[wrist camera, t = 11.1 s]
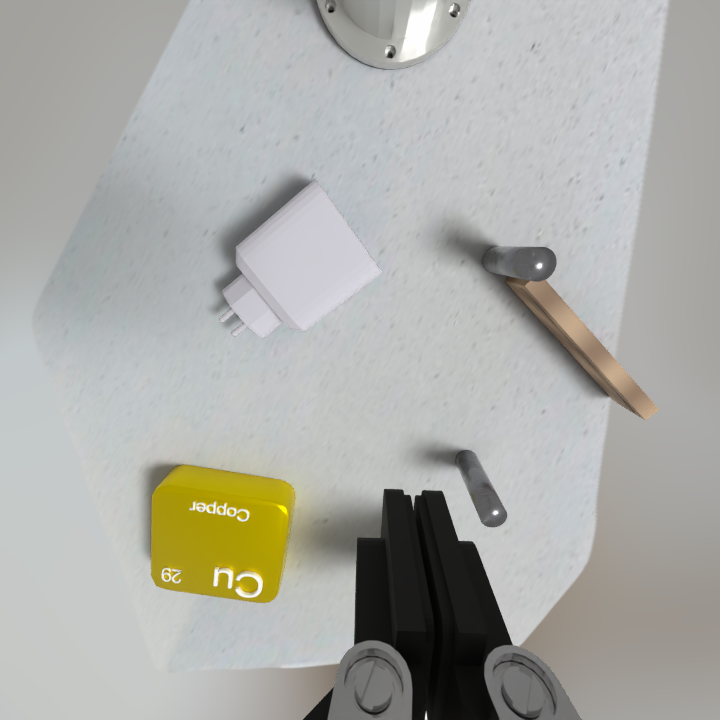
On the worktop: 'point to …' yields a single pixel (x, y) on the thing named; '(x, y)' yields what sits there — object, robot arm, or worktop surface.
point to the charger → (297, 266)
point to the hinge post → (520, 262)
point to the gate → (582, 345)
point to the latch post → (481, 490)
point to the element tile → (220, 533)
